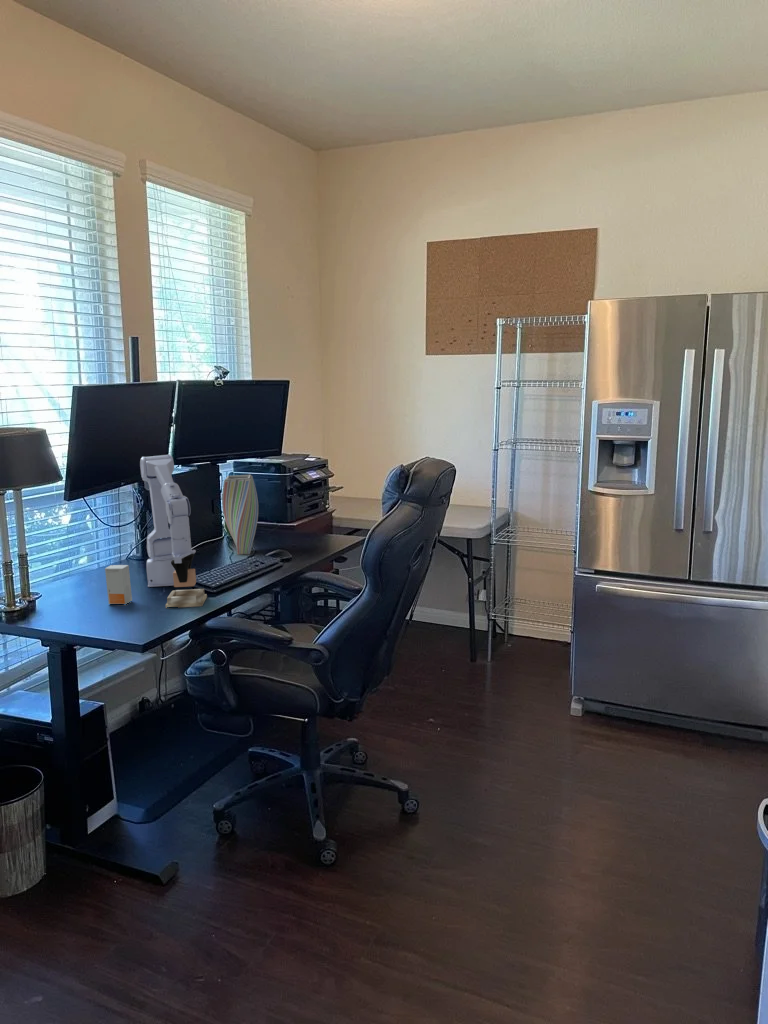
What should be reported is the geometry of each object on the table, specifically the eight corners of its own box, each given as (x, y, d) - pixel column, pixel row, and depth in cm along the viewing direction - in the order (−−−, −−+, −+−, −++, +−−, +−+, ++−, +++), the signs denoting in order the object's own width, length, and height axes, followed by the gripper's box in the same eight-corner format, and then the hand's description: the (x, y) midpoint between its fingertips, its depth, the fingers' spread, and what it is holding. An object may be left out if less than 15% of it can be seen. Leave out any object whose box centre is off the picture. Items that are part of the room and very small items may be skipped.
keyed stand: (165, 608, 228) (164, 598, 227) (171, 599, 237) (170, 589, 236) (202, 606, 228) (201, 596, 228) (206, 597, 237) (206, 588, 237)
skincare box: (108, 605, 233) (104, 568, 230) (114, 601, 237) (110, 564, 234) (126, 605, 232) (122, 568, 229) (133, 601, 236) (129, 564, 233)
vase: (225, 558, 285) (218, 480, 279) (227, 549, 298) (221, 475, 292) (260, 555, 286) (255, 478, 280) (262, 547, 299) (256, 473, 293)
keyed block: (193, 586, 230) (192, 572, 229) (174, 587, 229) (172, 573, 228) (196, 582, 234) (195, 568, 233) (176, 583, 233) (175, 569, 232)
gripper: (189, 542, 222) (193, 586, 224) (198, 531, 236) (201, 572, 238) (165, 543, 221) (169, 587, 224) (175, 532, 235) (179, 574, 238)
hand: (184, 580), depth 231 cm, fingers closed on keyed block, 4 cm apart
